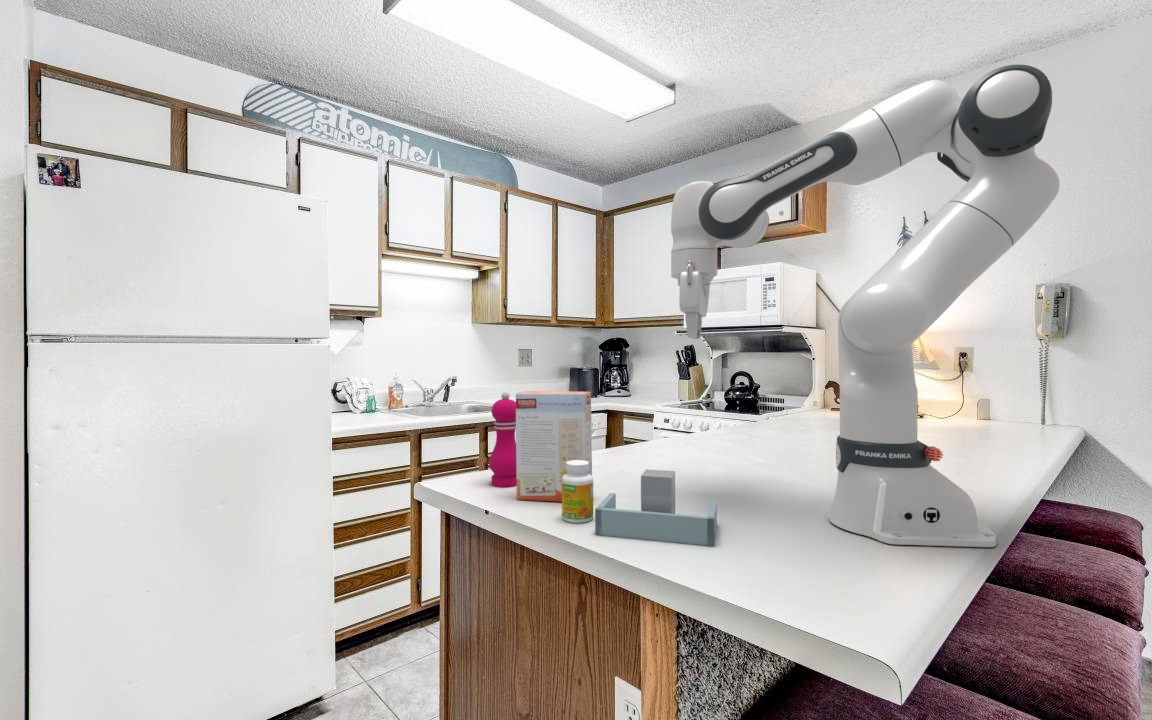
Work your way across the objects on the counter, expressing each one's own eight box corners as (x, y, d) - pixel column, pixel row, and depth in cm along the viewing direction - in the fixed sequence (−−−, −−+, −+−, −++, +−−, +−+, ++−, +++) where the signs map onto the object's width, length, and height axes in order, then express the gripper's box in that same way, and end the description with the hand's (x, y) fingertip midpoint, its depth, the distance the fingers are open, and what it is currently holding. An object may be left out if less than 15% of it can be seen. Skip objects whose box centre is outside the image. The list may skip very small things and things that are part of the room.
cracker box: (593, 496, 106) (592, 390, 106) (586, 504, 101) (586, 393, 100) (525, 492, 110) (524, 389, 109) (515, 500, 104) (514, 392, 103)
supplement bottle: (559, 522, 90) (558, 465, 90) (565, 513, 95) (564, 458, 95) (591, 524, 89) (590, 466, 89) (595, 514, 94) (595, 459, 94)
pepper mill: (520, 488, 113) (519, 393, 113) (486, 487, 113) (485, 393, 113) (524, 479, 120) (523, 390, 120) (492, 479, 121) (491, 390, 120)
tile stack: (675, 525, 88) (675, 471, 88) (671, 535, 84) (671, 477, 84) (646, 523, 90) (646, 469, 90) (641, 532, 85) (640, 475, 85)
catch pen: (716, 525, 88) (716, 500, 88) (714, 546, 79) (714, 519, 79) (610, 515, 94) (610, 492, 94) (595, 534, 84) (595, 509, 84)
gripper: (707, 257, 95) (707, 336, 95) (713, 273, 114) (713, 339, 114) (671, 259, 96) (671, 337, 97) (683, 275, 116) (683, 339, 116)
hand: (694, 338), depth 106 cm, fingers open, 8 cm apart
